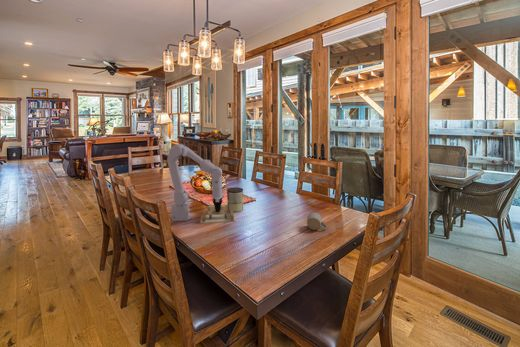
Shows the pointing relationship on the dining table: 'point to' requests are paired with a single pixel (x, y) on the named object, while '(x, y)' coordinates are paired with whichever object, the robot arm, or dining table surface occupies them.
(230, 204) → the coffee can
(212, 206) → the tan wooden block
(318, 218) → the ceramic mug
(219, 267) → the dining table surface
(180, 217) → the robot arm
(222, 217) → the peg plate
